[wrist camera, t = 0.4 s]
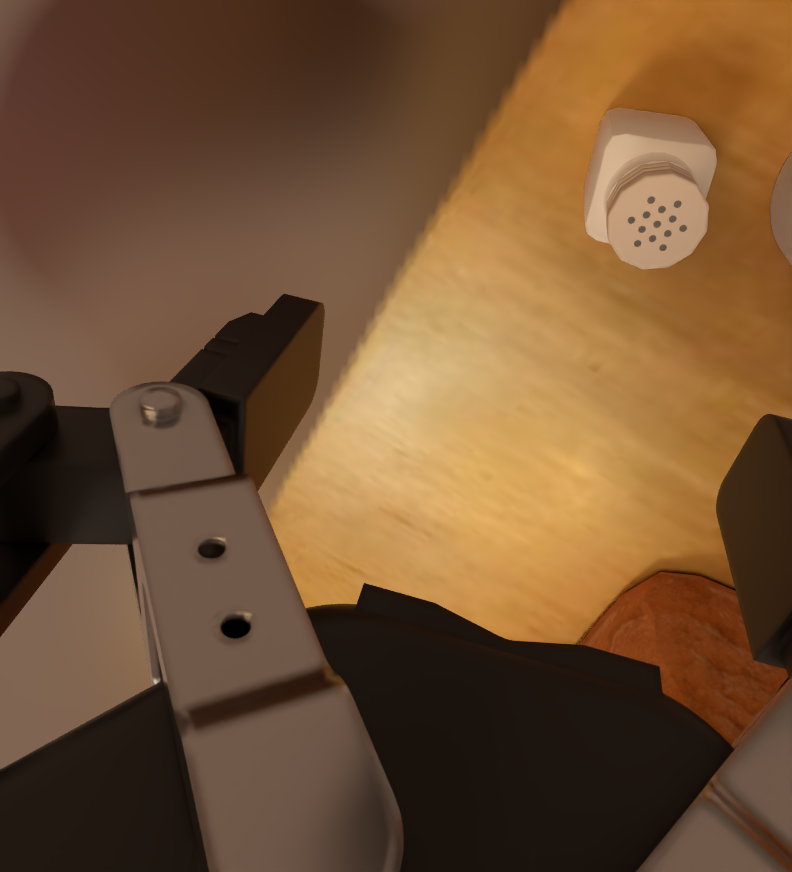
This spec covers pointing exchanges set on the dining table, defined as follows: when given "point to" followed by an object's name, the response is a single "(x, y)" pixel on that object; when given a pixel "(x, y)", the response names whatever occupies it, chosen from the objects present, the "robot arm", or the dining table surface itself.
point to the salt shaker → (649, 186)
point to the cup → (783, 209)
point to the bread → (691, 647)
